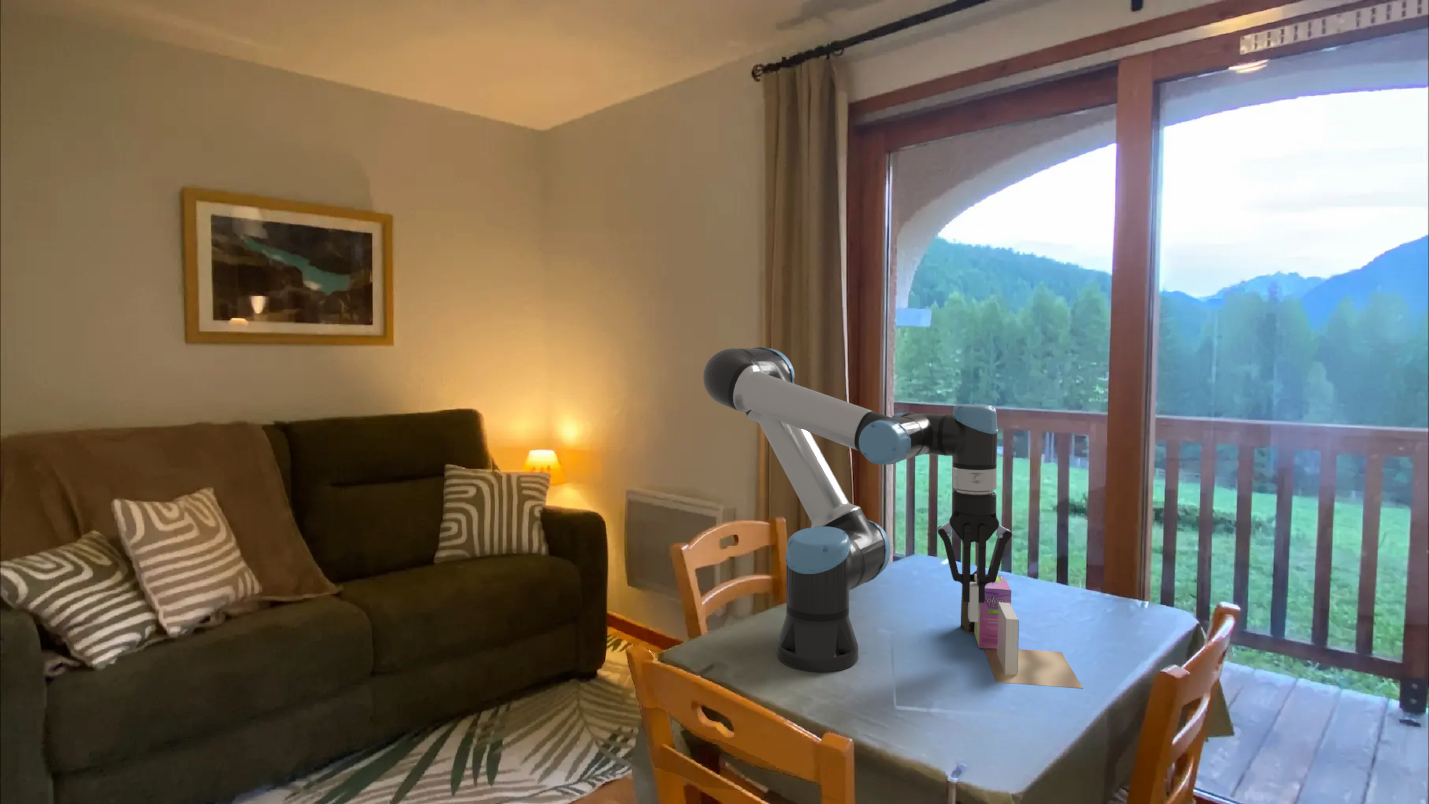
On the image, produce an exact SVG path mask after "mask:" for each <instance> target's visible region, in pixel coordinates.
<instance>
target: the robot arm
mask: <svg viewBox="0 0 1429 804" xmlns="http://www.w3.org/2000/svg"><path fill="white" fill-rule="evenodd" d="M795 376H796V375H795V370H794V367H793V364H792V363H791V361H790V359H789V358H788V357H787V356H786V355H785V354H784V353H783V352H781V351H779V350H776V349H774V348H768V347H764V346H763V347H762V346H760V347H759V346H757V347H752V348H725V349H722V350H719V351H718V352H716V353H715V354H713V355H712V356H711V357H710V358H709V360H708V361H707V363H706V364H705V367H704V370H703V375H702V379H703V385H704V388H705V390H706V393H707V394H708V395H709V397H710V398H711V399H713V401H715V402H717V403H718V404H721V405H722V406H725V407H728V408H730V409H733V410H736V411H739V412H741V413H745V414H746V416H747V418H748V420H750V421H754V422H757V423H758V424H759V426H760V428H761V430H762V431H763V433H764V435H765V437H766V439H767V441H768V443H769V445H770V446H771V448H772V450H773V452H774V454H775V456H776V458H777V460H778V461H779V463H780V465H781V468H782V469H783V471H784V473H785V475H786V476H787V478H788V479H787V480H788V481H789V482H790V485H791V486H792V488H793V490H794V492H795V494H796V495H797V497H798V499H799V501H800V503H801V504H802V505H801V506H802V507H803V509H804V511H805V513H806V514H807V516H808V518H809V520H810V522H811V526H810V527H806V528H803V529H800V530H797V531H796V532H794V533H792V535H791V536H789V538H788V541H787V543H786V553H785V564H786V566H785V567H786V568H785V569H786V572H785V573H786V574H785V576H786V584H785V586H786V587H785V588H786V590H785V591H786V600H785V601H786V614H785V618H784V620H783V623H782V626H781V630H780V633H779V636H778V639H777V643H776V656H777V659H778V660H780V662H781V663H783V664H785V665H786V666H788V667H792V668H794V669H797V670H801V671H807V672H817V673H819V672H820V673H822V672H823V673H824V672H837V671H842V670H845V669H848V668H851V667H852V666H854V665H855V664H856V663H857V662H858V661H859V645H858V642H857V638H856V635H855V631H854V628H853V625H852V623H851V619H850V591H852V590H854V589H855V588H857V587H859V586H861V585H863V584H865V583H869V582H870V581H873V580H875V579H876V578H877V577H878V576H879V575H880V574H881V573H882V572H884V571H885V569H886V568H887V566H888V565H889V562H890V557H891V550H892V549H891V543H890V539H889V537H888V535H887V533H886V531H885V530H884V529H883V527H882V526H881V525H879V524H878V523H877V522H874V521H872V520H870V519H867V517H866V515H865V514H864V512H863V510H862V508H861V506H859V505H854V504H852V503H851V502H849V499H848V498H847V496H846V495H845V493H844V491H843V489H842V487H841V485H840V484H839V482H838V480H837V478H836V476H835V475H834V473H833V471H832V469H831V468H830V465H829V464H828V462H827V460H826V459H825V456H824V454H823V453H822V451H821V449H820V447H819V446H818V444H817V442H816V441H815V438H814V437H813V434H814V435H817V436H818V437H820V438H821V437H822V438H824V439H827V440H829V441H832V442H834V443H836V444H840V445H842V446H846V447H847V448H850V449H853V450H856V451H858V452H861V455H863V456H864V458H865V459H866V460H867V461H868V462H870V463H872V464H874V465H880V466H884V465H894V464H897V463H899V462H901V461H904V460H908V459H912V458H915V457H919V456H923V455H931V456H933V455H934V456H944V457H949V456H951V457H952V488H953V489H955V490H953V492H952V499H951V500H952V504H951V505H952V509H951V513H952V514H951V516H950V518H949V520H948V521H949V522H948V523H946V524H944V525H943V526H941V525H940V526H938V527H937V528H936V530H937V533H938V535H939V536H940V538H941V539H942V541H943V544H944V549H945V552H946V558H947V561H948V565H949V569H950V572H951V573H950V574H951V577H952V579H953V581H954V582H958V583H960V584H961V599H962V598H963V601H964V602H968V618H969V621H970V622H978V603H984V601H985V586H986V584H988V583H994V582H995V581H996V578H997V575H999V574H998V573H999V570H1000V567H1001V563H1002V559H1003V555H1004V551H1005V547H1006V544H1007V543H1008V542H1009V540H1010V539H1011V537H1012V535H1013V533H1012V531H1011V530H1010V529H1009V528H1006V527H1004V526H1002V525H1001V524H1000V521H999V519H998V516H997V494H996V492H995V491H996V490H997V488H998V487H997V479H998V478H997V476H998V475H997V464H998V463H997V458H998V457H997V455H998V433H999V429H998V417H997V410H996V409H997V408H995V407H994V406H992V405H989V404H984V403H982V404H980V403H976V404H975V403H974V404H973V403H964V404H956V405H954V406H953V409H952V410H953V411H952V412H951V413H952V414H938V413H937V414H933V413H916V412H912V411H909V412H898V413H894V414H893V415H892V417H891V416H889V415H886V414H882V413H878V412H875V411H874V410H872V409H871V410H870V409H868V408H865V407H862V406H860V405H856V404H853V403H850V402H848V401H846V400H845V401H844V400H843V399H840V398H836V397H833V396H831V395H827V394H824V393H822V392H819V391H816V390H813V389H810V388H808V387H804V386H801V385H798V384H796V383H795ZM952 530H953V531H954V532H955V533H956V535H957V536H958V538H959V539H960V540H961V545H962V547H961V548H962V549H961V573H960V572H959V569H958V565H957V559H956V555H955V553H954V549H953V545H952V541H951V537H952ZM995 532H996V533H995ZM994 533H995V535H996V537H997V538H996V540H995V545H994V548H993V552H992V556H991V560H990V564H989V567H988V570H987V574H986V575H985V571H986V560H987V559H986V554H987V552H986V549H987V542H988V541H989V540H990V538H991V537H992V536H993V535H994ZM974 542H975V543H976V570H977V582H970V574H971V556H972V555H971V554H972V553H971V548H972V543H974Z"/></svg>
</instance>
